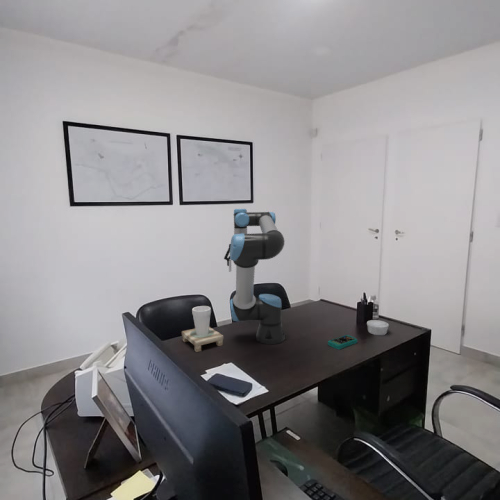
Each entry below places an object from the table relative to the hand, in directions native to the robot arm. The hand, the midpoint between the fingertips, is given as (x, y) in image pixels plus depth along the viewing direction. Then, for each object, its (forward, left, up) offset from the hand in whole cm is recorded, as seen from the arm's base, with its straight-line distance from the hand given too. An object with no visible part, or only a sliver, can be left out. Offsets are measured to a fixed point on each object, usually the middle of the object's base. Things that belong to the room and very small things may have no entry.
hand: (241, 271), depth 198 cm
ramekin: (-55, -53, -32) cm, 83 cm away
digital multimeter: (-55, -25, -32) cm, 68 cm away
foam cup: (-12, +32, -27) cm, 43 cm away
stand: (-12, +32, -32) cm, 47 cm away
